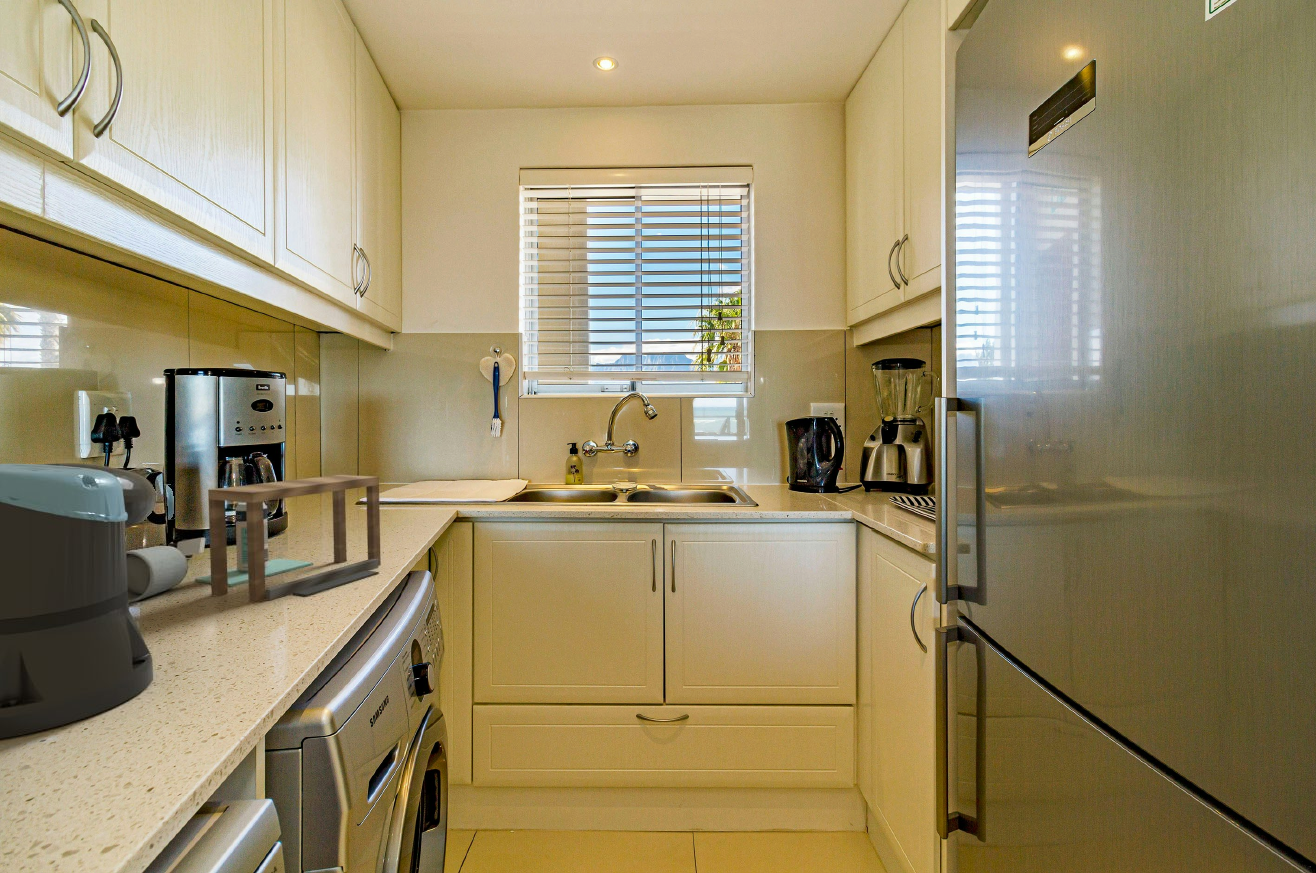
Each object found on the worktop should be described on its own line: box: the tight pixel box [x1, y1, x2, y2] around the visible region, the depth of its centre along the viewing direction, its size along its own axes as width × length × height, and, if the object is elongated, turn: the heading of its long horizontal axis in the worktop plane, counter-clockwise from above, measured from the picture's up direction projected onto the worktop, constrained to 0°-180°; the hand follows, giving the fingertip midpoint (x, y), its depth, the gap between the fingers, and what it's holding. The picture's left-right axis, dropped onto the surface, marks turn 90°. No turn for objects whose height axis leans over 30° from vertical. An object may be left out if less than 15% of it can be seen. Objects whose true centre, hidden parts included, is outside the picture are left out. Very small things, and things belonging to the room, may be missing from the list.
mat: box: [194, 558, 314, 587], centre depth 106 cm, size 15×9×1 cm, turn 159°
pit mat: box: [292, 570, 380, 598], centre depth 99 cm, size 14×3×1 cm, turn 159°
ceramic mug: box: [126, 546, 189, 603], centre depth 93 cm, size 11×8×8 cm
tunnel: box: [207, 474, 382, 603], centre depth 101 cm, size 24×11×16 cm, turn 159°
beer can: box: [234, 501, 269, 572], centre depth 106 cm, size 5×5×12 cm
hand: (164, 542), depth 105 cm, fingers open, 12 cm apart
